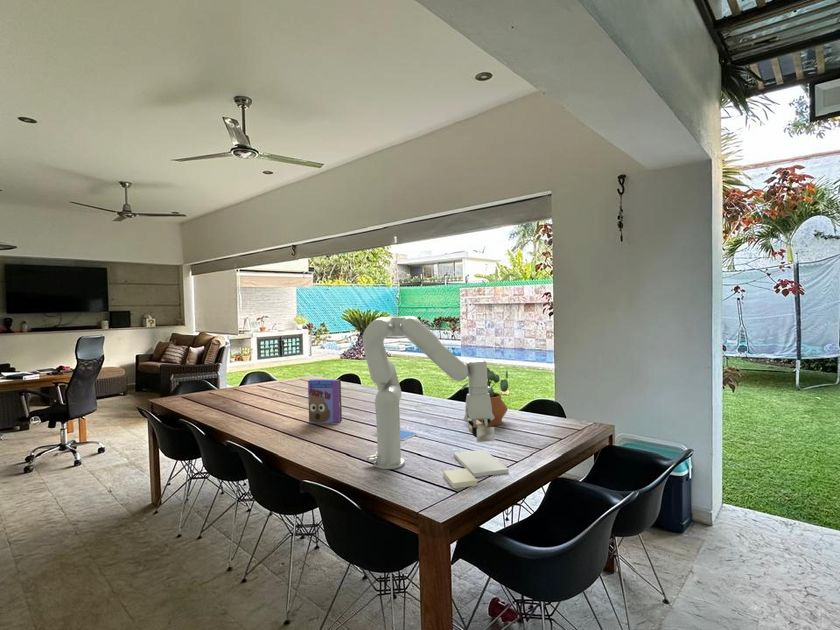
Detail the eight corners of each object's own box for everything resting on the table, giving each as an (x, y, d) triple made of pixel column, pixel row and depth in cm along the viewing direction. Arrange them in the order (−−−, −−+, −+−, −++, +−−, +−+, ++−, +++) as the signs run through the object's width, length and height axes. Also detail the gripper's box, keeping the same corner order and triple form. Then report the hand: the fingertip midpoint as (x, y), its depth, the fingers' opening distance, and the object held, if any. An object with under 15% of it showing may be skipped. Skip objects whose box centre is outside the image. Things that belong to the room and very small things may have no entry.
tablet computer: (372, 436, 224) (372, 433, 224) (388, 430, 234) (388, 427, 234) (403, 442, 213) (403, 439, 213) (418, 435, 223) (418, 432, 223)
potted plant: (516, 421, 244) (515, 366, 243) (489, 433, 222) (487, 373, 221) (480, 415, 258) (479, 363, 258) (452, 426, 237) (450, 369, 236)
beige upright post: (477, 442, 172) (477, 429, 172) (464, 431, 186) (464, 419, 186) (494, 440, 174) (494, 427, 173) (480, 430, 188) (480, 418, 188)
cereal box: (309, 423, 249) (307, 380, 249) (312, 421, 254) (310, 379, 253) (339, 423, 247) (338, 380, 247) (341, 421, 252) (340, 379, 251)
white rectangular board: (473, 477, 167) (473, 473, 167) (453, 456, 190) (453, 452, 190) (508, 472, 170) (508, 469, 170) (484, 452, 193) (484, 449, 193)
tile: (443, 477, 169) (453, 489, 157) (443, 471, 169) (453, 483, 157) (465, 474, 171) (477, 486, 159) (465, 468, 171) (477, 480, 159)
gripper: (493, 387, 185) (494, 431, 185) (455, 390, 181) (457, 435, 181) (500, 390, 178) (502, 436, 178) (462, 394, 174) (463, 440, 174)
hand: (479, 435), depth 180 cm, fingers closed on beige upright post, 3 cm apart
